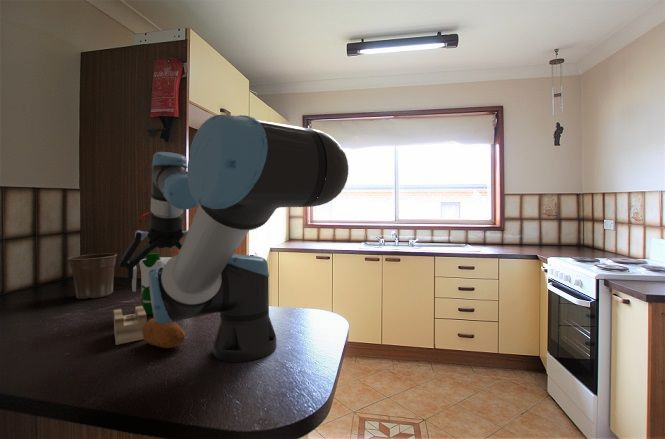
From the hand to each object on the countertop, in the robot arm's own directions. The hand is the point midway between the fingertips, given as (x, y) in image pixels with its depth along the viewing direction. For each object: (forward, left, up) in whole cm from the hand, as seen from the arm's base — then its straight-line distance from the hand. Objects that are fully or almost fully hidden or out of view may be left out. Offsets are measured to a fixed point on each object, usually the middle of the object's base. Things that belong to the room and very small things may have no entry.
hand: (162, 286), depth 91 cm
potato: (-9, +1, -14) cm, 16 cm away
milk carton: (+24, -2, -14) cm, 28 cm away
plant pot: (+63, +16, -14) cm, 67 cm away
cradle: (+4, +8, -13) cm, 16 cm away
